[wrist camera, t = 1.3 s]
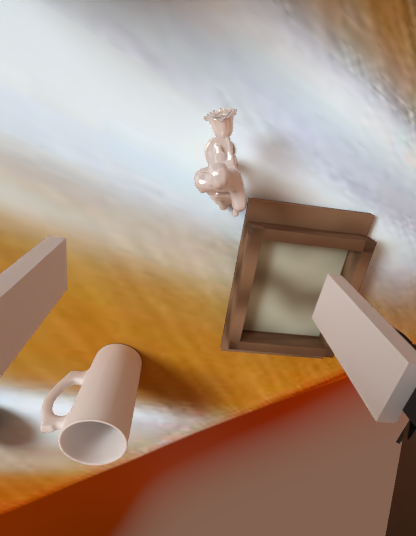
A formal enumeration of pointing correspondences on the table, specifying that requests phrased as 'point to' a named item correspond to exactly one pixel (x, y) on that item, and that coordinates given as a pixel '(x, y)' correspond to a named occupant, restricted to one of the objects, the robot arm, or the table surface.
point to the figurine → (221, 165)
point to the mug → (97, 407)
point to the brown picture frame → (291, 274)
